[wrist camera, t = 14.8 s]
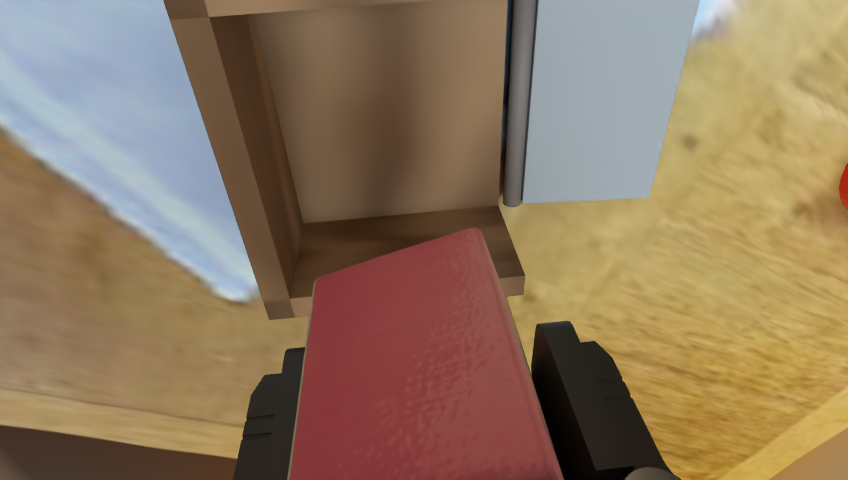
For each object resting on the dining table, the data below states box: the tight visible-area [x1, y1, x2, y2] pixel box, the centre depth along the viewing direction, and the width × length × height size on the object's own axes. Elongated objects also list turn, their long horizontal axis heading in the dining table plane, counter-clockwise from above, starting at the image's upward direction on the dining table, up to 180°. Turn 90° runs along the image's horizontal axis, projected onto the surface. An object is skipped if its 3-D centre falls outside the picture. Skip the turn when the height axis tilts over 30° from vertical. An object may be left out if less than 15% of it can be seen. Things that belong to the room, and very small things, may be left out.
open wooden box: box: [163, 0, 525, 320], centre depth 22 cm, size 12×14×8 cm
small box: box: [287, 228, 564, 480], centre depth 10 cm, size 5×4×8 cm
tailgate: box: [503, 0, 700, 207], centre depth 25 cm, size 1×12×8 cm
